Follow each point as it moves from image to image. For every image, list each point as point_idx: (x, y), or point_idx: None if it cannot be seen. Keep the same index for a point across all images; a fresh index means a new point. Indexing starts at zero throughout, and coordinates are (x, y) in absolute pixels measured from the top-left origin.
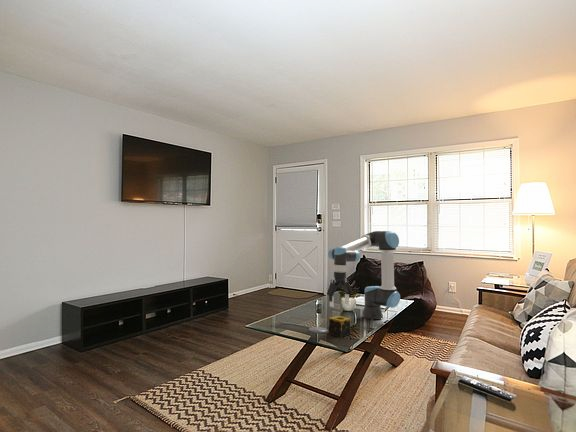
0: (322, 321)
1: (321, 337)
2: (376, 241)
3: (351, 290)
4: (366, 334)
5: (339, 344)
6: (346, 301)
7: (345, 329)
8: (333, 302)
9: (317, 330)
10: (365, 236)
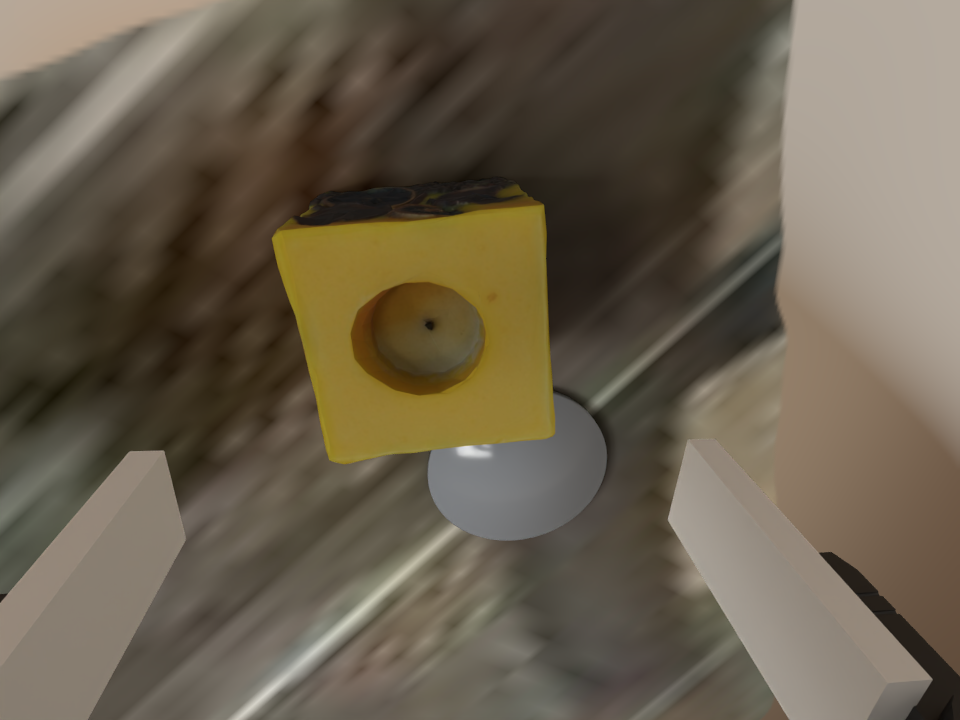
0: (274, 633)
1: (657, 303)
2: None
3: None
4: (115, 51)
5: (717, 4)
6: (138, 553)
7: (420, 199)
8: (753, 512)
9: (543, 456)
10: None
